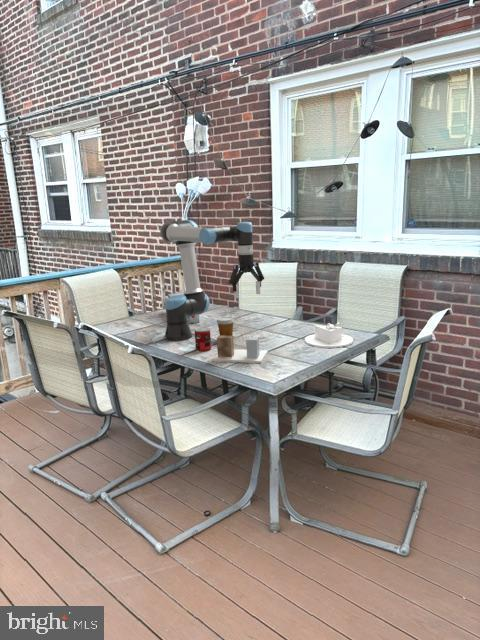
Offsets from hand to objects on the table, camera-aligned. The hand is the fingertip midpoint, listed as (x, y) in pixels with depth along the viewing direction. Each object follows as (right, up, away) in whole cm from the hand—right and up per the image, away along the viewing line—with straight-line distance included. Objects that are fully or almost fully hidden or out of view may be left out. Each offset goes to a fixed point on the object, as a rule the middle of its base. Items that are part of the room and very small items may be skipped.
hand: (247, 295), depth 235 cm
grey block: (+3, -30, -14) cm, 33 cm away
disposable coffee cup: (-11, -23, +19) cm, 32 cm away
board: (-4, -30, -10) cm, 32 cm away
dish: (+43, -24, +9) cm, 50 cm away
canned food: (-23, -28, +4) cm, 36 cm away
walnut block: (-11, -30, -13) cm, 34 cm away
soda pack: (-41, -11, +75) cm, 87 cm away
